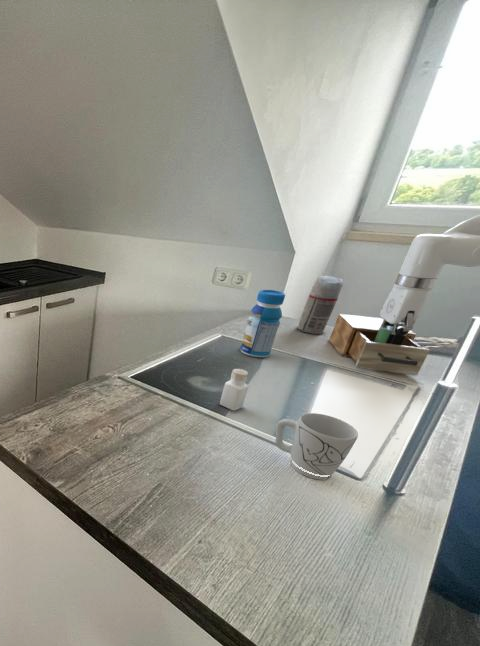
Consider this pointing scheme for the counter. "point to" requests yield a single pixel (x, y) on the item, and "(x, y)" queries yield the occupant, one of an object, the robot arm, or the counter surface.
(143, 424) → the counter surface
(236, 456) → the counter surface
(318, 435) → the mug
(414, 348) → the drawer
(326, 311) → the spray can
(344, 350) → the cabinet
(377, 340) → the tin can
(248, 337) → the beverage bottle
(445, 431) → the counter surface
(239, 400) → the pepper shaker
